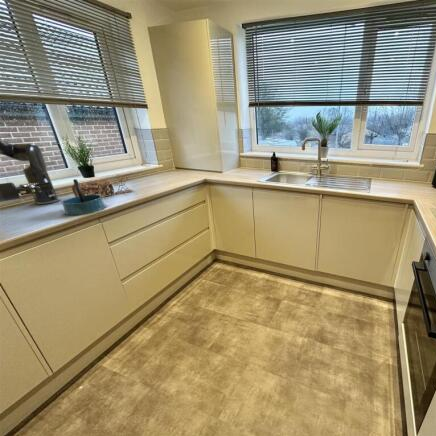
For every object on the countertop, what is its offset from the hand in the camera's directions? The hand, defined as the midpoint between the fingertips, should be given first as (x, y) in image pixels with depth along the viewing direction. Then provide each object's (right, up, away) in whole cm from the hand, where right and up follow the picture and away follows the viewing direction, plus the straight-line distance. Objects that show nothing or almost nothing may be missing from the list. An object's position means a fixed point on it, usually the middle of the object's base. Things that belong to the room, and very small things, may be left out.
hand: (51, 185), depth 115 cm
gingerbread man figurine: (+5, +1, +43) cm, 43 cm away
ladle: (+7, -11, +11) cm, 17 cm away
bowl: (+7, -11, +12) cm, 18 cm away
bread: (-6, -3, +34) cm, 35 cm away
